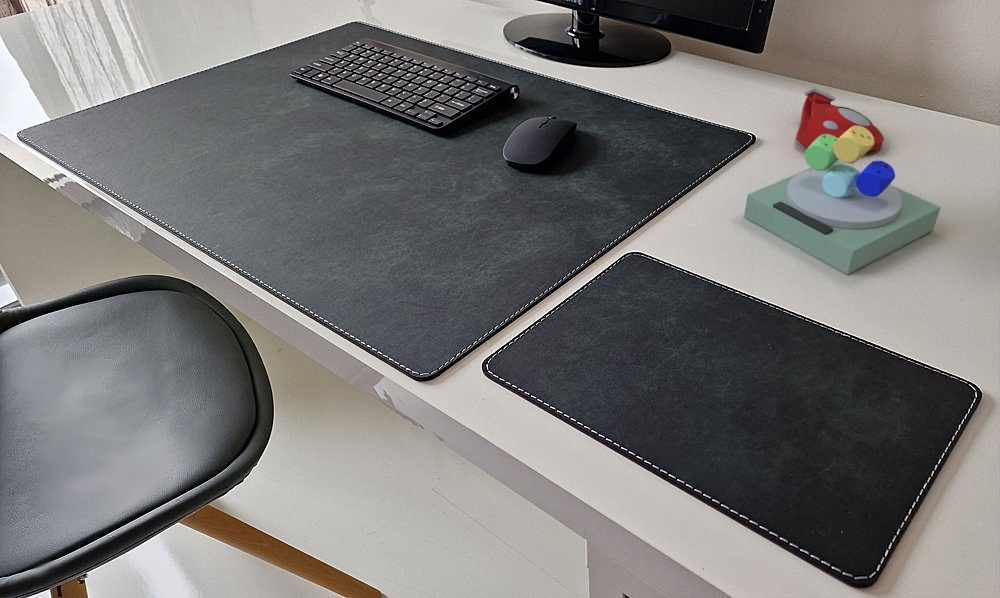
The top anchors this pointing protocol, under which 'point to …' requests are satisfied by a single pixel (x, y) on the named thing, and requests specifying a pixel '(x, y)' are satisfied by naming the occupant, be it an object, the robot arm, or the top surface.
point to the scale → (840, 219)
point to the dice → (848, 150)
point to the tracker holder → (830, 119)
